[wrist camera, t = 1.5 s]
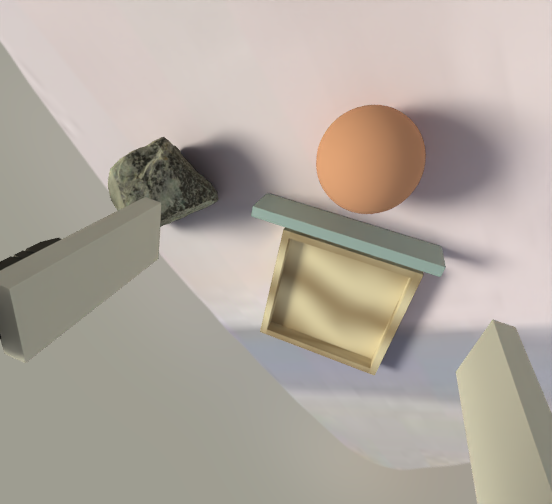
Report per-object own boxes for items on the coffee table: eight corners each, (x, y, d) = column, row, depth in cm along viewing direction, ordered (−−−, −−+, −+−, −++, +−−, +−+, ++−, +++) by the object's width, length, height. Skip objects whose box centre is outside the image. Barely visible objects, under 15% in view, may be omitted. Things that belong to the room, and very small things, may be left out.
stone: (141, 269, 31) (103, 152, 27) (119, 235, 39) (88, 141, 35) (238, 236, 35) (220, 130, 31) (201, 212, 43) (182, 125, 39)
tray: (289, 222, 36) (283, 229, 34) (422, 264, 34) (423, 274, 32) (265, 321, 43) (260, 331, 41) (375, 362, 41) (374, 375, 39)
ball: (340, 90, 29) (321, 97, 23) (439, 114, 28) (450, 129, 21) (317, 182, 33) (294, 210, 27) (402, 206, 32) (401, 244, 25)
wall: (267, 193, 36) (252, 206, 32) (441, 246, 33) (445, 267, 29) (265, 202, 36) (251, 216, 33) (436, 255, 33) (440, 277, 30)
